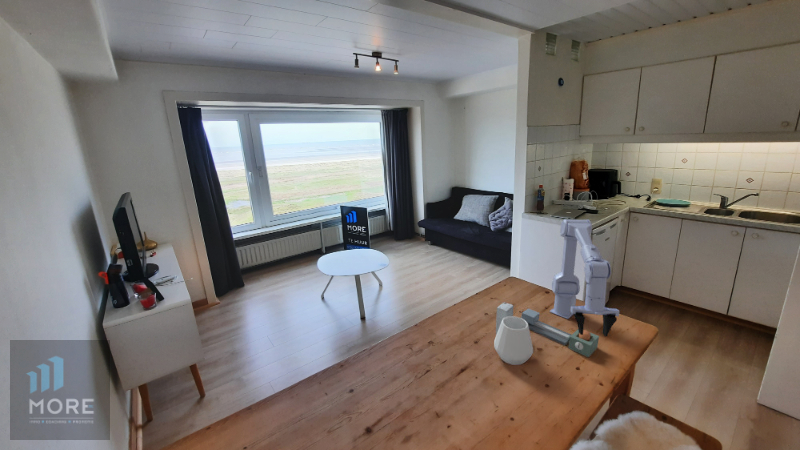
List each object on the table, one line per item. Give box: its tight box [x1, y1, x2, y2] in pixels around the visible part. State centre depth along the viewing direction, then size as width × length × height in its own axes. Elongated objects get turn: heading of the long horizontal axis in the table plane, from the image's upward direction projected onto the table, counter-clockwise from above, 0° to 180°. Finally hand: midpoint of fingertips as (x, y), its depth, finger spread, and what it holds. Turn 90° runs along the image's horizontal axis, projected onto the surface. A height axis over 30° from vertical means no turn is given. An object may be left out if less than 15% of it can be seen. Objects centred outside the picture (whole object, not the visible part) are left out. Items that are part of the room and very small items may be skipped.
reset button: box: [579, 329, 591, 342], centre depth 119 cm, size 4×4×4 cm
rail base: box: [520, 315, 572, 347], centre depth 131 cm, size 7×20×2 cm, turn 40°
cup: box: [493, 315, 534, 366], centre depth 116 cm, size 13×13×14 cm
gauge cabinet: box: [568, 329, 600, 358], centre depth 120 cm, size 8×7×5 cm
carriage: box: [521, 308, 540, 325], centre depth 135 cm, size 5×5×4 cm
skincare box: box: [495, 301, 514, 335], centre depth 130 cm, size 6×4×12 cm
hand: (592, 334), depth 111 cm, fingers open, 7 cm apart
